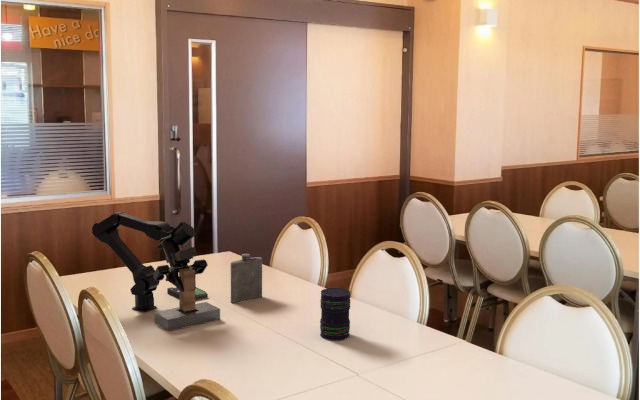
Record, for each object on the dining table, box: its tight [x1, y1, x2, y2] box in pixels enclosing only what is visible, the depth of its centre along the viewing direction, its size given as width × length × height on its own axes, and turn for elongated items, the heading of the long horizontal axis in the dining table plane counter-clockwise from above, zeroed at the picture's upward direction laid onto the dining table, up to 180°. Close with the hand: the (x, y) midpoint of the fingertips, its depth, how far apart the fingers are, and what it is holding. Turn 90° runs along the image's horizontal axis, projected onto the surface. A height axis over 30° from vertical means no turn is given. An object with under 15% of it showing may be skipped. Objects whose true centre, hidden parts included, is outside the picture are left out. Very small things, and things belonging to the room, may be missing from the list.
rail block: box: [154, 301, 221, 332], centre depth 235 cm, size 10×20×4 cm, turn 129°
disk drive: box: [166, 286, 209, 301], centre depth 266 cm, size 10×3×15 cm
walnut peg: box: [178, 268, 196, 312], centre depth 234 cm, size 4×4×14 cm
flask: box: [230, 253, 263, 305], centre depth 261 cm, size 4×14×18 cm, turn 133°
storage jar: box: [319, 287, 351, 342], centre depth 222 cm, size 10×10×15 cm
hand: (189, 290), depth 233 cm, fingers closed on walnut peg, 4 cm apart
